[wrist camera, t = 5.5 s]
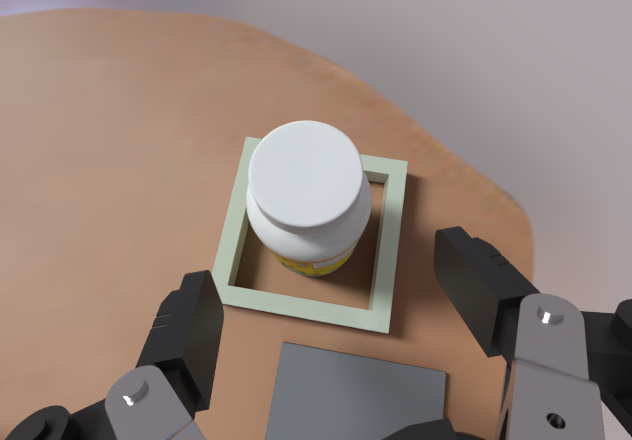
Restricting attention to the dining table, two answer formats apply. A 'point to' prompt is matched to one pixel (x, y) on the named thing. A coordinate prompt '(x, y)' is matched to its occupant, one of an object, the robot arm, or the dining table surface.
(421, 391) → the mat
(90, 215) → the dining table surface
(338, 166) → the supplement bottle
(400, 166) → the pale green square frame
